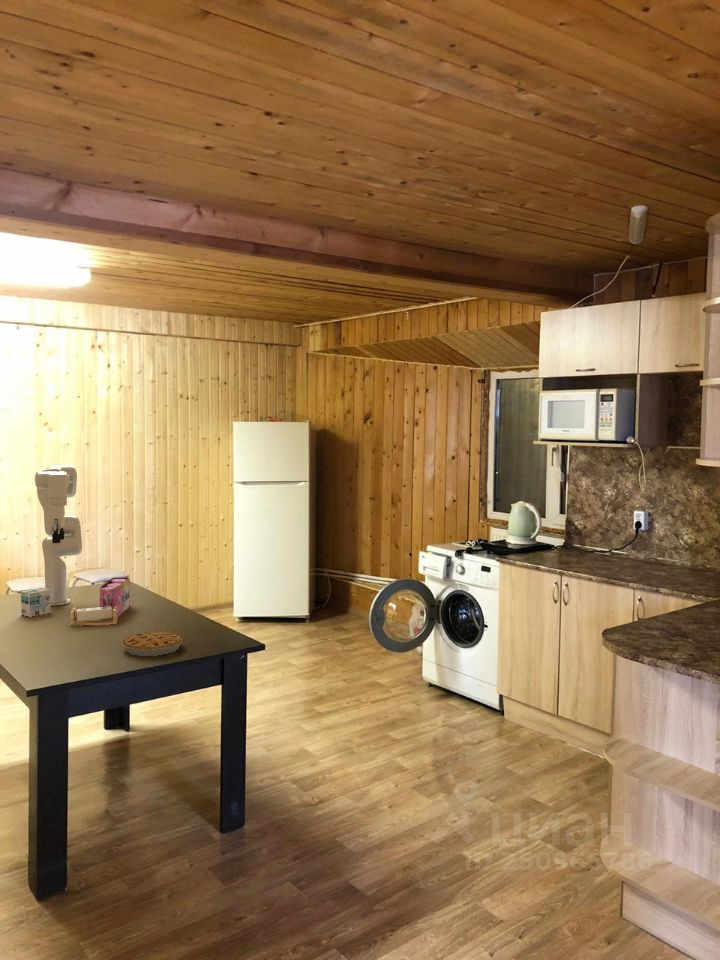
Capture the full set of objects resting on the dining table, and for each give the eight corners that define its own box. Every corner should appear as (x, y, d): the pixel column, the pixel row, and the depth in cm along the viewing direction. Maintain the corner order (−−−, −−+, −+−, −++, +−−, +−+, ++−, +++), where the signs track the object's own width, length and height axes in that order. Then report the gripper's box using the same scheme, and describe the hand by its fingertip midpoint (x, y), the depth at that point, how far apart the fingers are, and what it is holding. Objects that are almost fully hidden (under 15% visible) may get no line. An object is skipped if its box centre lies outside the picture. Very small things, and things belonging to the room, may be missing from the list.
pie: (193, 650, 297) (193, 637, 297) (140, 662, 282) (140, 648, 282) (163, 638, 313) (163, 626, 312) (111, 649, 298) (111, 636, 297)
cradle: (73, 621, 337) (73, 607, 337) (117, 619, 341) (117, 605, 341) (70, 626, 329) (70, 612, 329) (116, 624, 333) (115, 610, 332)
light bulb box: (29, 618, 343) (29, 593, 342) (20, 615, 346) (20, 591, 346) (51, 613, 352) (51, 589, 351) (42, 611, 355) (41, 587, 355)
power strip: (76, 618, 334) (76, 609, 334) (110, 615, 340) (110, 606, 339) (77, 621, 330) (77, 611, 330) (112, 617, 336) (112, 608, 335)
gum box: (116, 618, 343) (116, 588, 342) (98, 619, 342) (97, 588, 341) (130, 606, 366) (130, 577, 365) (113, 606, 366) (112, 577, 365)
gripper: (51, 500, 348) (52, 538, 350) (44, 504, 332) (45, 544, 333) (69, 499, 350) (70, 538, 351) (63, 503, 333) (64, 544, 334)
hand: (58, 541), depth 342 cm, fingers open, 9 cm apart
